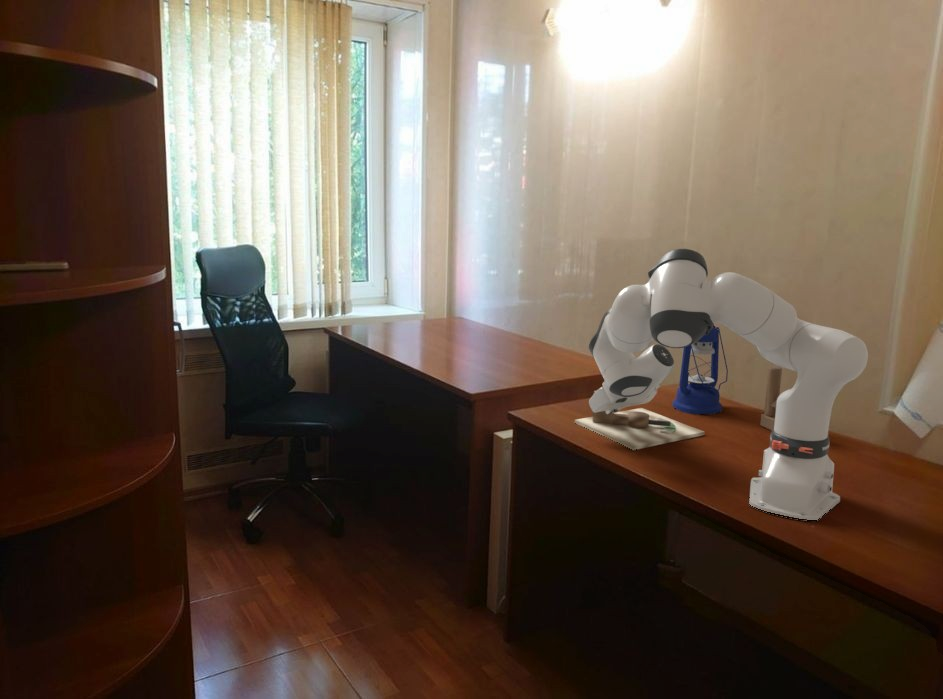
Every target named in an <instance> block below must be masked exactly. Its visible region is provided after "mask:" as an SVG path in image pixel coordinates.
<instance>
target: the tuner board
mask: <svg viewBox="0 0 943 699" xmlns="http://www.w3.org/2000/svg"><path fill="white" fill-rule="evenodd" d="M630 412H644V413H647V414H649V419H650V420H661V421H671V422H670V426H660V425H649V426H648V427H645V428H635V427H631V426H629V425H622V424H612V423H605V422H594V421H593V416H589V417H584V418H583V417H582V418H576V419H574V424H575V423H576V425H578V426H580V427H582V428H584V427H585V429H586V428H587V429H586V430H588V429H589V431H591V432H593V431H594V432H593V433H595V432H596V433H595V434H597V433H598V434H597V435H599V434H600V436H601V435H602V436H601V437H603V436H605V437H604V438H606V437H607V438H606V439H608V438H609V439H608V440H610V439H611V440H610V441H612V440H613V441H612V442H614V441H615V442H614V443H616V442H618V443H617V444H619V443H620V444H619V445H621V444H622V445H621V446H623V445H624V446H623V447H625V446H626V448H627V447H628V449H629V448H630V450H631V449H632V451H636V449H637V450H641V449H646V448H650V447H655V446H658V445H664V444H669V443H674V442H677V441H683V440H688V439H692V438H697V437H701V436H705V431H704V430H701V429H698V428H697V427H693V426H690V425H688V424H685V423H682V422H679V421H677V420H675V419H672V418H671V417H670V418H669V417H667V416H664V415H661V414H660V413H657V412H654V411H651V410H648V409H646V408H643V407H638V408H634V409H629V410H622V411H621V410H620V411H618V412H617V413H615V414H627V415H628V413H630Z"/></svg>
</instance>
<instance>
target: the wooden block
mask: <svg viewBox="0 0 943 699" xmlns="http://www.w3.org/2000/svg"><path fill="white" fill-rule="evenodd" d="M782 368H783V367H780V366H776V365H775V366H769V367H768V369H767V381H766V389H765V390H766V392H765V400H764V401H765V402H764V413H761V415H760V426H761V427H763V428H764V429H765V428H766V430H769V431H771V432H772V429H773V428H774V423H775V413H776V403H777V399H778V397H779V395H780V394H781V393H780V392H781V384H782V373H783V369H782Z"/></svg>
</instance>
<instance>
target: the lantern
mask: <svg viewBox="0 0 943 699" xmlns="http://www.w3.org/2000/svg"><path fill="white" fill-rule="evenodd" d="M714 324H715V323H713V329H712V330H711V332H710V333H709V334H708V335H705V336H703V337H702V338H701V339H700V340H699V341H697V342H695V343H694V344H692V345H690V346H688V347H684V348H683V352H682V359H681V368H680V376H679V387H678V388H677V390H676V396H675V398H674V399H673V401H672V406H673V407H674V408H676V409H677V410H676V409H675V410H676V411H678V410H680V411H679V412H681V411H682V412H681V413H685V412H686V413H685V414H690V413H692V414H691V415H696V414H712V415H715V414H714V413H717V414H719V413H718V412H720V411H721V410H722V411H723V405H722V403H721V402H720V396H721V395H720V391H719V390H720V388H721V385H722V384H724V383H726V382H728V375H729V374H728V373H729V370H728V365H727V359H726V355H725V350H724V349H725V348H724V346H723V345H724V344H723V340H722V336H721V330H720V326H715V325H714ZM720 345H721V350H722V353H723V359H724V365H725V370H726V373H725V374H726V376H725V377H726V378H725V381H723V382H721V383H719V385H718V389H717V388H716V386H717V382H718V379H719V356H720V355H719V352H720V351H719V348H720ZM691 354H692V355H691ZM696 355H711V358H710V359H711V360H710V362H709V361H708V362H706V361H704V360H703V359H702V358H700V357H699V356H696ZM691 357H693V360H694V364H695V367H693V368H691V369H689V368H690V361H691ZM696 358H698V359H700V360H701V361H703V362H704V363H703V364H700V365H697V361H696ZM706 364H707V365H708V364H710V369H709V370H708V371H706V372H705V373H704V374H702V373H699V367H701V366H704V365H706ZM694 369H695V370H696V371H697V372H696V373H697V374H695V375H690V372H689V371H692V370H694ZM709 372H710V376H705V374H707V373H709ZM673 407H672V408H673ZM674 408H673V409H674ZM722 411H721V412H722ZM721 412H720V413H721Z"/></svg>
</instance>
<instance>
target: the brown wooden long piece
mask: <svg viewBox="0 0 943 699" xmlns="http://www.w3.org/2000/svg"><path fill="white" fill-rule="evenodd" d="M596 391H597V390H594V391H593V394H594V393H595V392H596ZM592 417H593V421H594V422H605V423H612V424H622V425H629V426H631V427H635V428H645V427H648V426H649V425H660V426H670V422H671V421H661V420H650V419H649V414H647V413H644V412H630V413H628V415H627V414H615V413H611V414H606V411H602V412H597V413H594V412H593V411H592Z"/></svg>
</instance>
